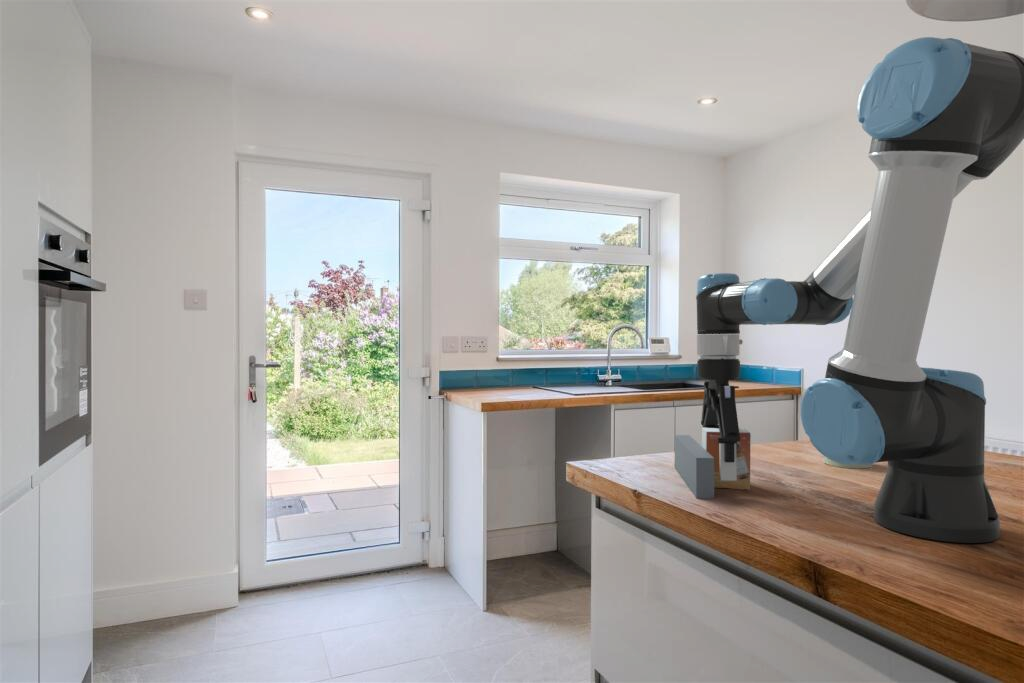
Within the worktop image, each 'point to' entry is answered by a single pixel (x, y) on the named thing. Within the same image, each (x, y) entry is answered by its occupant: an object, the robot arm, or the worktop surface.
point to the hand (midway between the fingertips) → (719, 471)
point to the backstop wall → (694, 466)
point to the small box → (742, 458)
